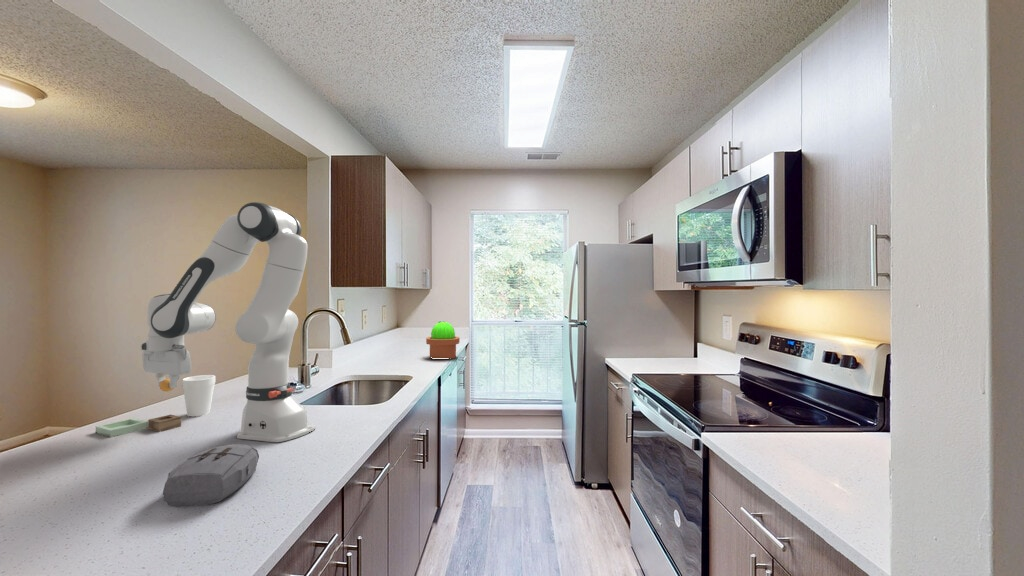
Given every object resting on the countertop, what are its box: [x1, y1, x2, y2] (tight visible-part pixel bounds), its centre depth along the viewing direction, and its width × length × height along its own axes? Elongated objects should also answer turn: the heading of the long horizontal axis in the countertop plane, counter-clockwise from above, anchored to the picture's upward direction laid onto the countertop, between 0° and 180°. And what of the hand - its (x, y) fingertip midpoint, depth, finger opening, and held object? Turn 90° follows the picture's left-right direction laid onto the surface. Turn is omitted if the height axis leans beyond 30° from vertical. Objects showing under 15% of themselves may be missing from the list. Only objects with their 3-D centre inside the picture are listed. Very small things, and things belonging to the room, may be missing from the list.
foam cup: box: [181, 374, 216, 417], centre depth 143 cm, size 10×9×13 cm
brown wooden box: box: [147, 414, 182, 433], centre depth 128 cm, size 6×6×3 cm
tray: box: [95, 417, 148, 438], centre depth 126 cm, size 9×9×2 cm
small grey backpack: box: [162, 443, 260, 508], centre depth 91 cm, size 15×8×20 cm
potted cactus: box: [425, 321, 460, 360], centre depth 267 cm, size 22×22×25 cm
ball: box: [158, 378, 175, 392], centre depth 128 cm, size 4×4×4 cm
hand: (167, 387), depth 128 cm, fingers closed on ball, 4 cm apart
